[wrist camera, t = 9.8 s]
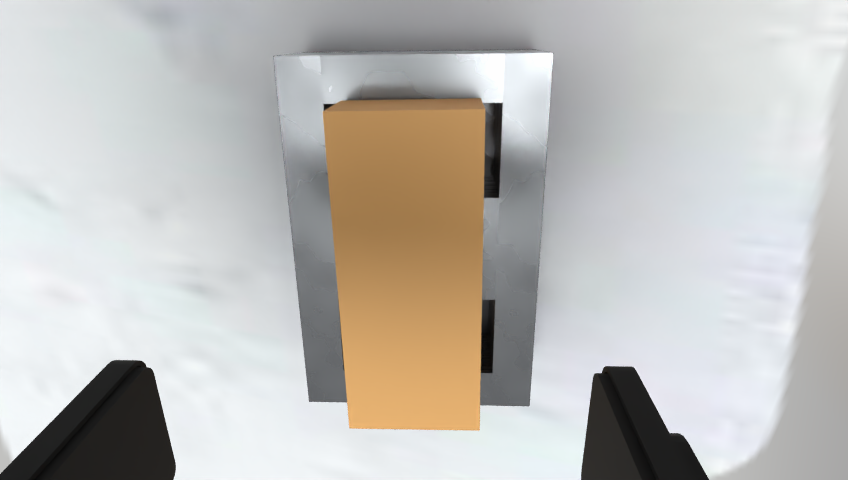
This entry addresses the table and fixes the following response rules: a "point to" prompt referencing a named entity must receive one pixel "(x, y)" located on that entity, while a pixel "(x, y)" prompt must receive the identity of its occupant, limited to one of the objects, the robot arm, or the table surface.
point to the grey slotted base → (503, 193)
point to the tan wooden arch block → (409, 258)
